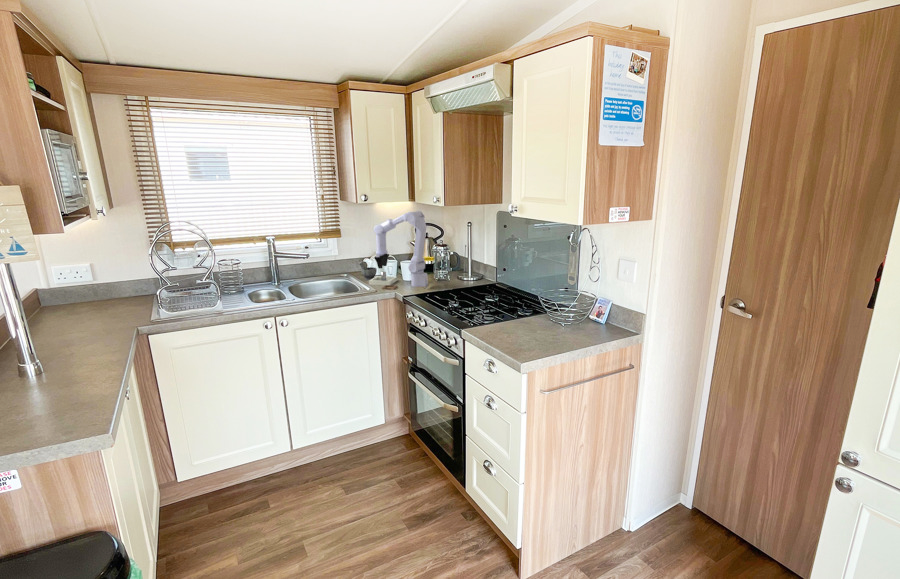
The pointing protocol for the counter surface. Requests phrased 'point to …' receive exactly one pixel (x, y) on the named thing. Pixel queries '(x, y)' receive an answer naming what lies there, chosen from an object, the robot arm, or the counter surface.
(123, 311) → the counter surface
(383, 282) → the bin
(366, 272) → the mortar and pestle
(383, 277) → the strut
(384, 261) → the robot arm
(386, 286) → the stud block
